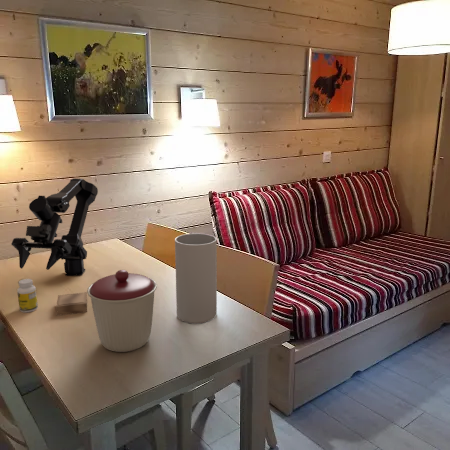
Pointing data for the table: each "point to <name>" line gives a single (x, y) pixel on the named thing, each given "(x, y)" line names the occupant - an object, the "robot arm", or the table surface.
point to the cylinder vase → (196, 277)
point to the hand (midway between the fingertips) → (34, 268)
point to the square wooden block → (71, 303)
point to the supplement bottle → (27, 296)
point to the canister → (123, 310)
